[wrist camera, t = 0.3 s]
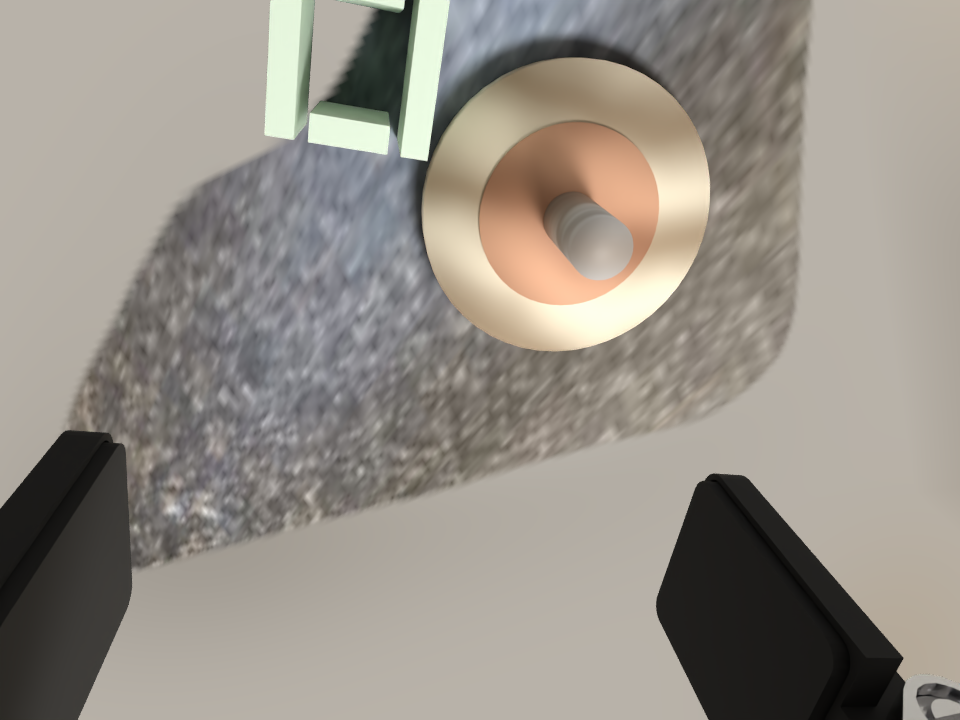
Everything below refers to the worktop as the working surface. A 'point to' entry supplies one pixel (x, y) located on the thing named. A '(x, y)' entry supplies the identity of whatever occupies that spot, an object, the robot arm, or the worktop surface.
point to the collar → (347, 122)
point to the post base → (516, 121)
